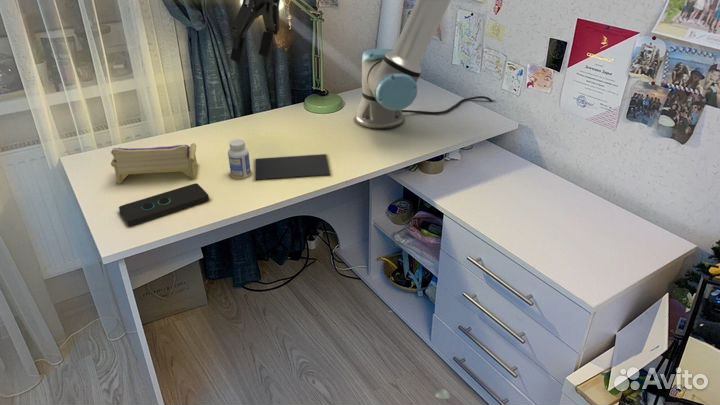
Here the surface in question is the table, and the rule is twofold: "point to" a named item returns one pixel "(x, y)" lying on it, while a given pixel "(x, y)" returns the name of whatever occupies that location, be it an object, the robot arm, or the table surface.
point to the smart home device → (163, 204)
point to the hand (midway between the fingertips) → (249, 58)
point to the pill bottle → (239, 159)
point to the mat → (291, 167)
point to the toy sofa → (154, 160)
